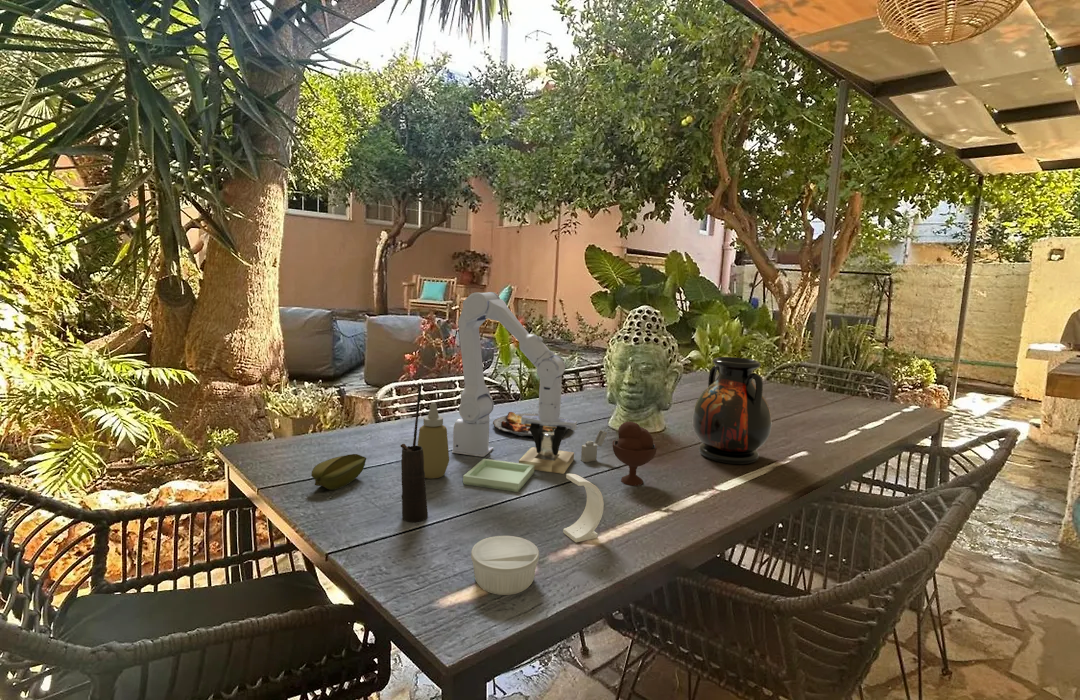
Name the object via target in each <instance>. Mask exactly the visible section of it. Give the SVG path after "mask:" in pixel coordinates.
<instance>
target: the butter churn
mask: <svg viewBox="0 0 1080 700" xmlns="http://www.w3.org/2000/svg"><path fill="white" fill-rule="evenodd" d="M421 395H422V383H419V385H418V393H417V403H416V410H415V411H416V412H415V413H416V414H415V422H414V430H413V431H414V432H413V441H412V446H411V445H408V446H407V445H406V444H405V443H402V444H400V445H399V446H400V448H401V462H400V463H401V467H400V468H401V469H400V470H401V516H402V518H403V520H404V521H405V522H408V523H417V522H422V521H425V520H426V519H427V518H428V516H429V513H428V502H427V500H428V499H427V490H426V489H427V488H426V487H427V486H426V478H425V472H424V455H423V448H422V447H421V446H418V445H416V444H417V434H418V425H419V412H420V404H421V403H420V402H421Z"/></svg>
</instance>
